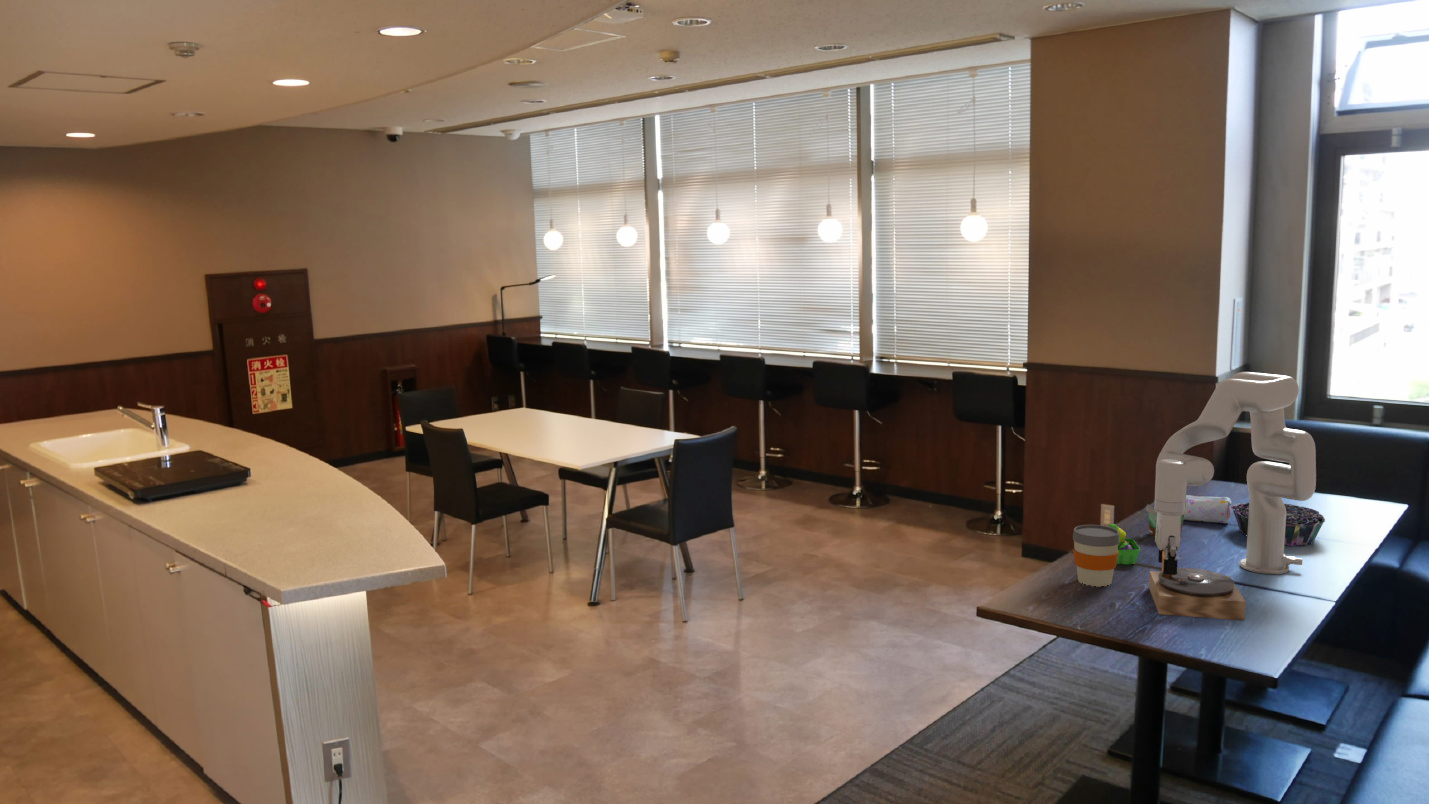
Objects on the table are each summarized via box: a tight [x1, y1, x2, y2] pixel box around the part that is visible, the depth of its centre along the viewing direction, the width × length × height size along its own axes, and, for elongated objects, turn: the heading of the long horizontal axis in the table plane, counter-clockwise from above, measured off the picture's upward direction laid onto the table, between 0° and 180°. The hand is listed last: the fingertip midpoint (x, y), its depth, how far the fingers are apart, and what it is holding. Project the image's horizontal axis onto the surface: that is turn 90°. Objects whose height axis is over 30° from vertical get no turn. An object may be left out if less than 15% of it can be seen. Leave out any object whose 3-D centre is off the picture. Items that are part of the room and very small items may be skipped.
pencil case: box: [1183, 494, 1232, 524], centre depth 339 cm, size 21×9×10 cm, turn 54°
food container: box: [1145, 503, 1187, 538], centre depth 321 cm, size 12×6×10 cm, turn 68°
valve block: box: [1148, 570, 1246, 621], centre depth 263 cm, size 20×20×5 cm
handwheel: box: [1158, 550, 1235, 596], centre depth 262 cm, size 18×18×9 cm
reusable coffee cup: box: [1072, 524, 1120, 588], centre depth 281 cm, size 13×12×15 cm
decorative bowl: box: [1231, 502, 1326, 547], centre depth 318 cm, size 26×28×10 cm
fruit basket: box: [1107, 523, 1141, 565], centre depth 300 cm, size 11×9×11 cm
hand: (1167, 568), depth 264 cm, fingers open, 9 cm apart
